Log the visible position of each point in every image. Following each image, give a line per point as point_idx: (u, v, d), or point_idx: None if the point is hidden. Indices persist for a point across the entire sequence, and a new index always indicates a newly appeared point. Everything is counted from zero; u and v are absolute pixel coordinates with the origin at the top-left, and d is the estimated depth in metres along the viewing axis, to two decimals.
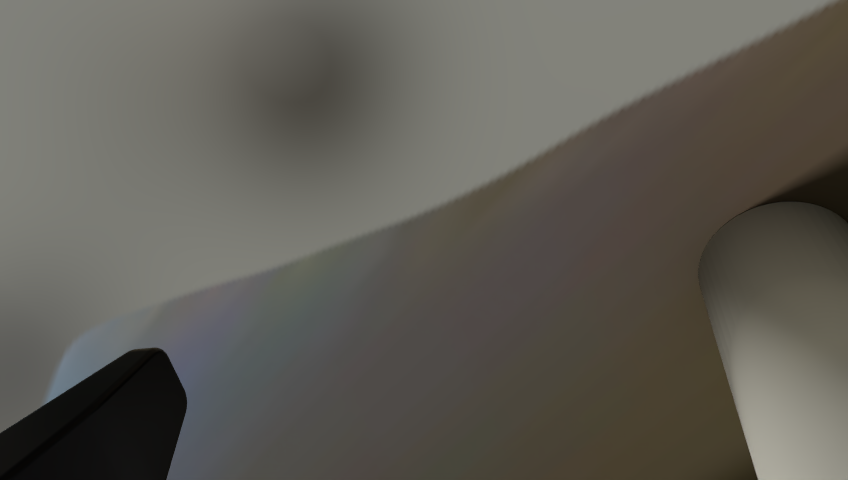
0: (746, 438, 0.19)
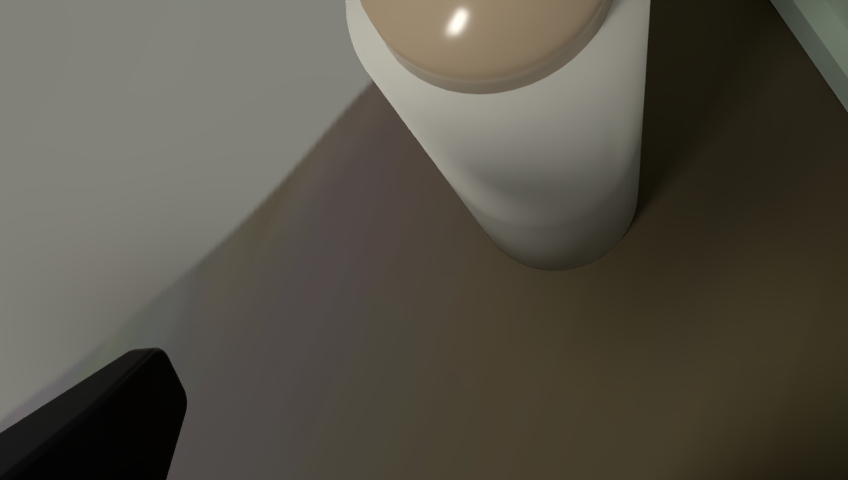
0: None
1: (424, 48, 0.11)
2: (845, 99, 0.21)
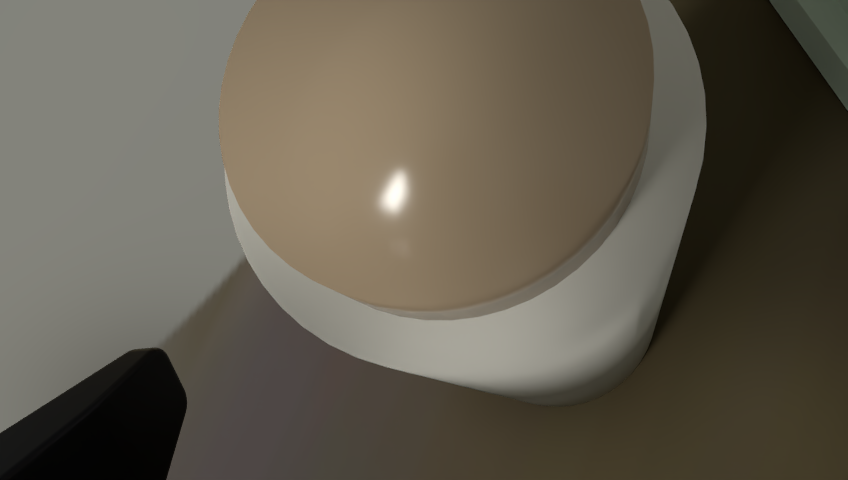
0: None
1: (325, 267, 0.06)
2: None
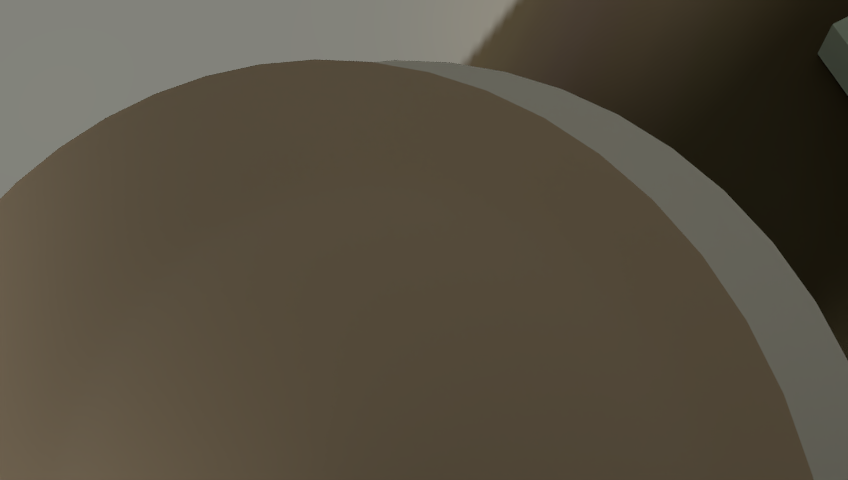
0: None
1: None
2: None
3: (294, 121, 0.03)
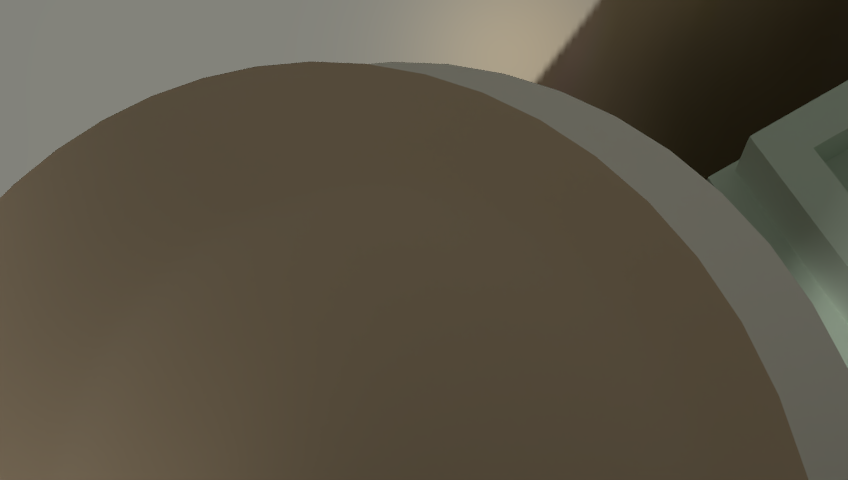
0: None
1: None
2: None
3: (290, 124, 0.03)
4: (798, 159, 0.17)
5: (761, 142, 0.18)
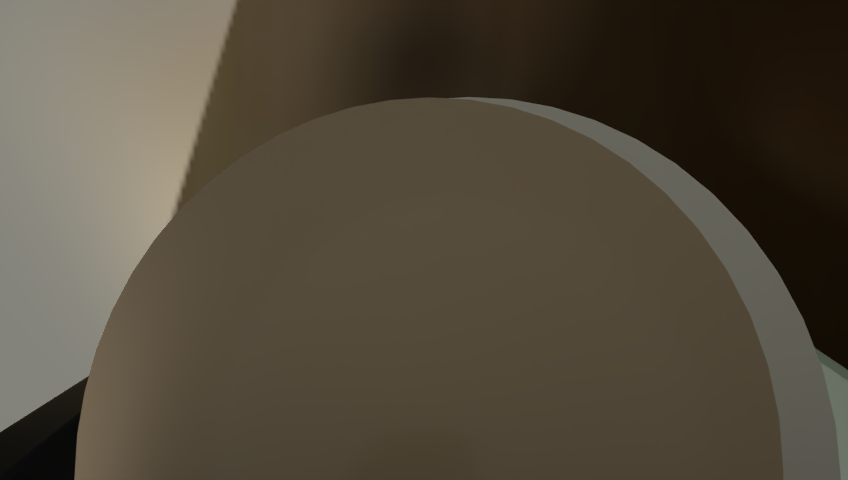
0: None
1: None
2: None
3: (417, 139, 0.05)
4: None
5: None
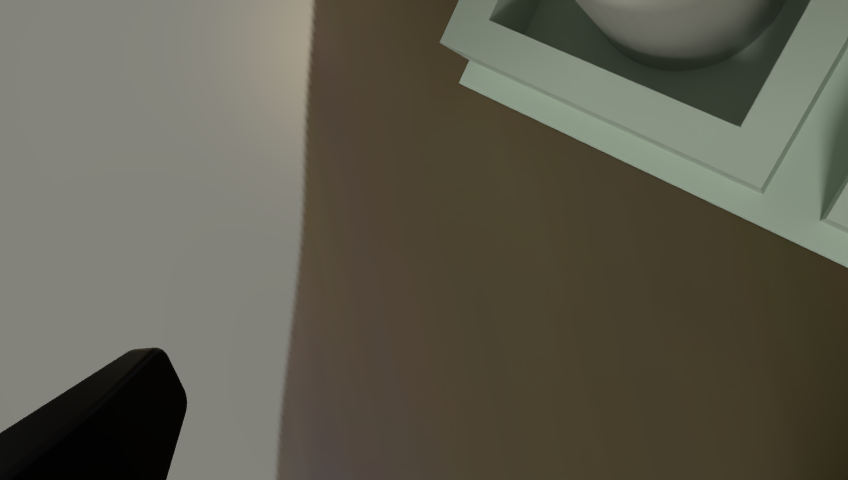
0: None
1: None
2: None
3: None
4: (483, 36, 0.19)
5: (450, 41, 0.19)
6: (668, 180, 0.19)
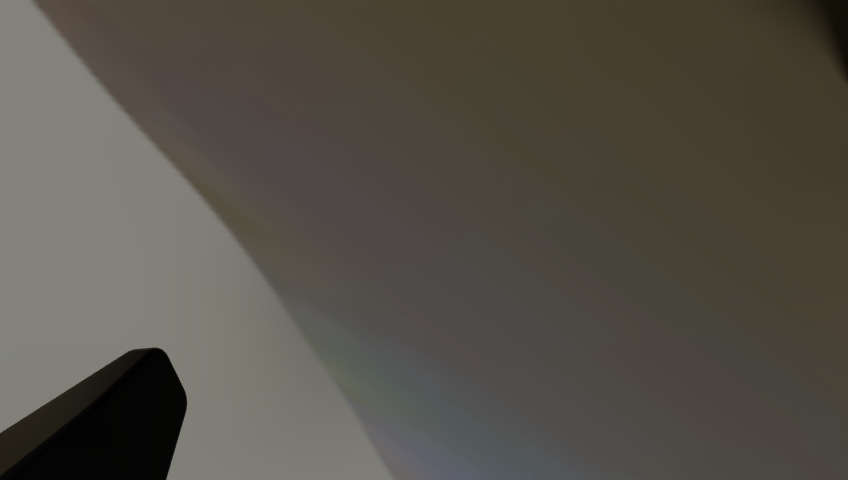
0: None
1: None
2: None
3: None
4: None
5: None
6: None
